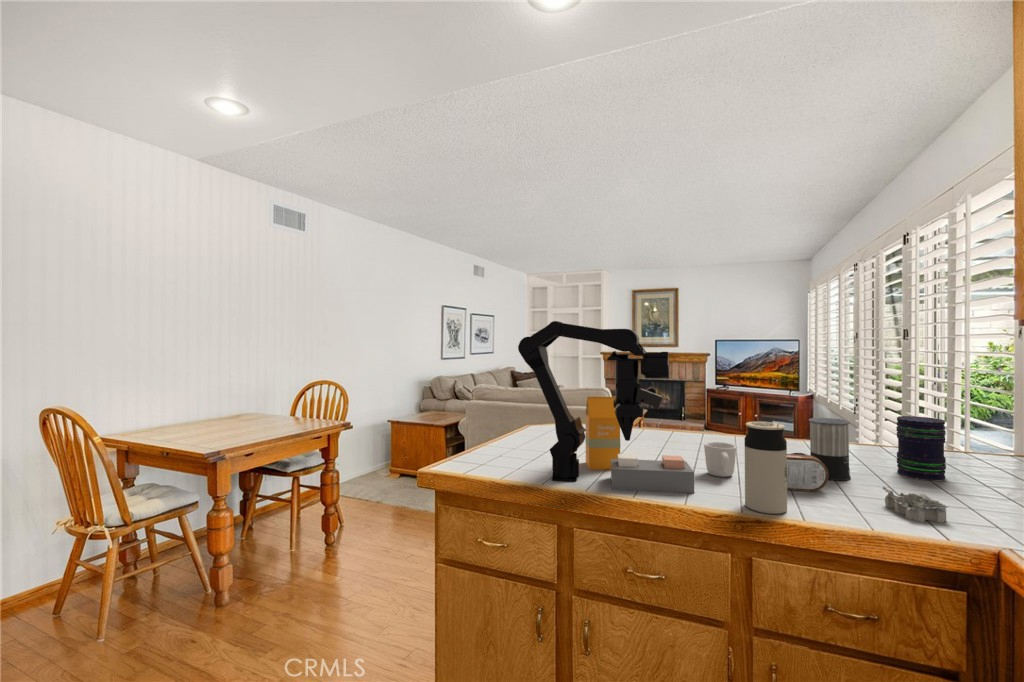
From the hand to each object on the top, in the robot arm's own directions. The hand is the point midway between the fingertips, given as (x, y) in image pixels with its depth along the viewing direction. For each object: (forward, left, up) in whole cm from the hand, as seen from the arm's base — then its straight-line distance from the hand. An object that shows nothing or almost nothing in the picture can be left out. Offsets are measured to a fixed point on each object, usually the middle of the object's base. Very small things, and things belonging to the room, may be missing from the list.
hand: (627, 440), depth 118 cm
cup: (+25, +11, -11) cm, 30 cm away
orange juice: (-6, +17, -11) cm, 21 cm away
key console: (+5, 0, -11) cm, 12 cm away
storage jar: (+77, +20, -11) cm, 80 cm away
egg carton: (+57, -11, -12) cm, 60 cm away
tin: (+39, +2, -11) cm, 41 cm away
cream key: (0, 0, -8) cm, 8 cm away
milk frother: (+51, +19, -11) cm, 56 cm away
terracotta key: (+11, 0, -8) cm, 14 cm away
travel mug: (+28, -13, -11) cm, 33 cm away
